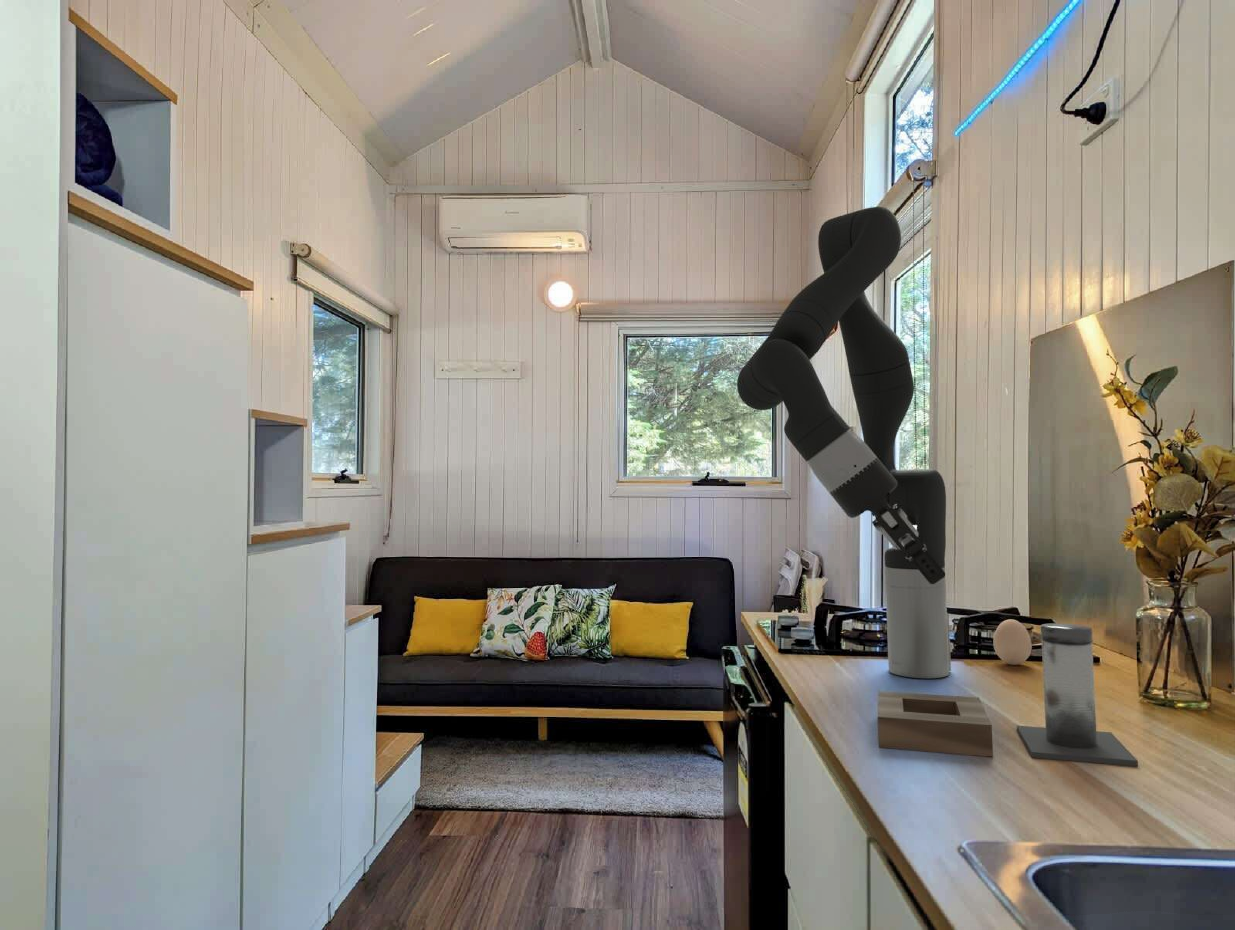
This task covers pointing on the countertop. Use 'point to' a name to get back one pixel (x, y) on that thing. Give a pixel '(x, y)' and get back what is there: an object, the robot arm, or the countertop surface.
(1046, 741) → the rubber mat
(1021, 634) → the egg
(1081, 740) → the grey lidded canister
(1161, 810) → the countertop surface
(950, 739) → the walnut holder
